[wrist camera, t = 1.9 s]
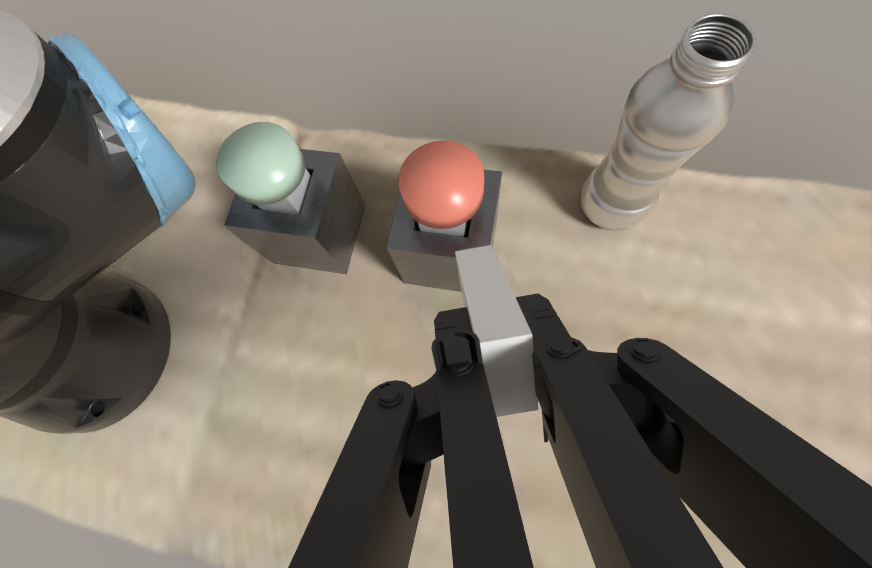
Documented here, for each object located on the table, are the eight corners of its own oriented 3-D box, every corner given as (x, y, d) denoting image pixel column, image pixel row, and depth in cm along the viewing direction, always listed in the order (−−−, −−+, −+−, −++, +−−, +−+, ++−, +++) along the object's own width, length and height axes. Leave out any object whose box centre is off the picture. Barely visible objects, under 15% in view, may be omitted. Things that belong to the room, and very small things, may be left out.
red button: (410, 260, 38) (390, 210, 29) (422, 201, 40) (407, 136, 31) (476, 270, 38) (477, 221, 28) (486, 209, 39) (490, 145, 30)
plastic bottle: (569, 184, 44) (643, 4, 25) (636, 175, 43) (763, -15, 24) (582, 241, 42) (673, 93, 23) (652, 232, 41) (804, 75, 22)
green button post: (272, 263, 44) (224, 225, 35) (294, 194, 46) (253, 143, 38) (346, 274, 43) (314, 238, 34) (364, 203, 45) (339, 153, 37)
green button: (266, 239, 40) (205, 186, 31) (284, 184, 42) (231, 118, 33) (326, 248, 39) (281, 196, 30) (342, 191, 41) (304, 126, 32)
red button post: (404, 283, 42) (386, 248, 33) (419, 210, 44) (406, 160, 36) (484, 295, 41) (487, 262, 32) (496, 220, 43) (502, 171, 35)
